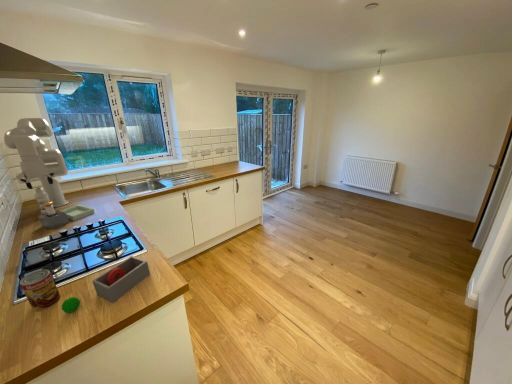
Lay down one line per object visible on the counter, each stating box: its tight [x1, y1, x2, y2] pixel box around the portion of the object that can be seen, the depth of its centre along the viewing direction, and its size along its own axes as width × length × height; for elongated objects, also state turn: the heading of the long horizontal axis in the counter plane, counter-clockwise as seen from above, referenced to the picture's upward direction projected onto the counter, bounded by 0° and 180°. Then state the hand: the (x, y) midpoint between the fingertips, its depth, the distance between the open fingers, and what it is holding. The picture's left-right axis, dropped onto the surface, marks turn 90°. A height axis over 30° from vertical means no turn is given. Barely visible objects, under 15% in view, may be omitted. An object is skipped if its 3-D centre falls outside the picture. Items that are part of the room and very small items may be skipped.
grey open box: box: [91, 255, 151, 304], centre depth 88 cm, size 10×17×7 cm, turn 156°
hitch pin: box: [42, 201, 56, 217], centre depth 135 cm, size 5×5×13 cm
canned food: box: [19, 268, 62, 312], centre depth 79 cm, size 8×8×12 cm
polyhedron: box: [61, 296, 81, 314], centre depth 77 cm, size 5×5×5 cm
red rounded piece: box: [107, 268, 125, 286], centre depth 89 cm, size 12×4×8 cm, turn 161°
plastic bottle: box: [34, 186, 49, 216], centre depth 148 cm, size 6×7×20 cm
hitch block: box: [37, 210, 70, 230], centre depth 137 cm, size 10×10×7 cm
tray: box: [60, 204, 95, 221], centre depth 152 cm, size 18×13×3 cm
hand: (41, 186), depth 129 cm, fingers open, 9 cm apart
